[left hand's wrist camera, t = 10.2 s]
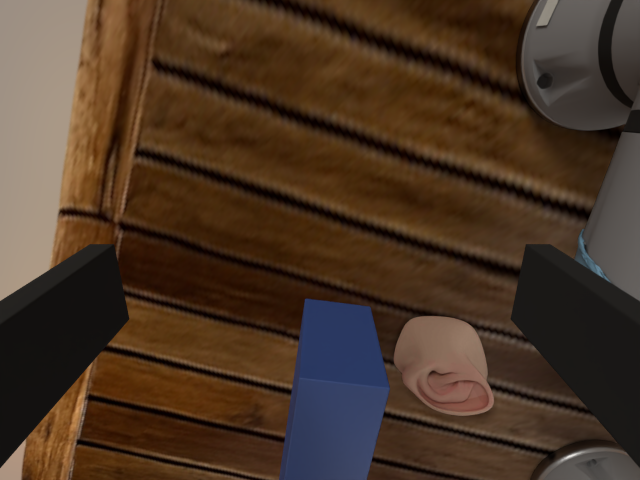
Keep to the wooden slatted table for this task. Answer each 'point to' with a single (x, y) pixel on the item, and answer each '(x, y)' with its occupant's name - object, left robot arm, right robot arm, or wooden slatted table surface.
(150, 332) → the wooden slatted table surface
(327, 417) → the bar
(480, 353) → the anatomical model
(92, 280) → the left robot arm
